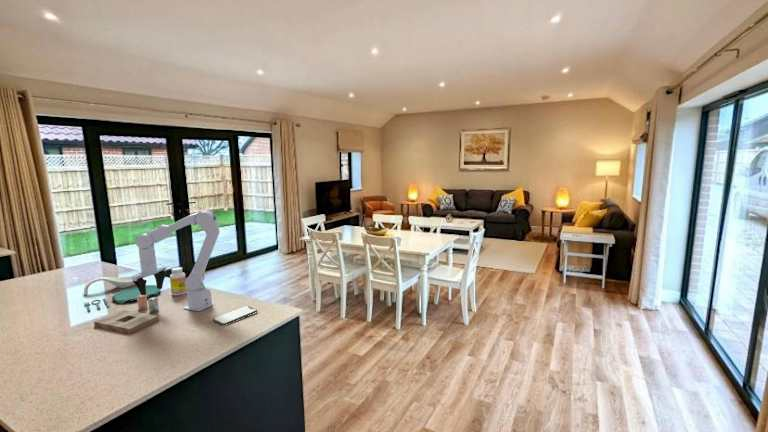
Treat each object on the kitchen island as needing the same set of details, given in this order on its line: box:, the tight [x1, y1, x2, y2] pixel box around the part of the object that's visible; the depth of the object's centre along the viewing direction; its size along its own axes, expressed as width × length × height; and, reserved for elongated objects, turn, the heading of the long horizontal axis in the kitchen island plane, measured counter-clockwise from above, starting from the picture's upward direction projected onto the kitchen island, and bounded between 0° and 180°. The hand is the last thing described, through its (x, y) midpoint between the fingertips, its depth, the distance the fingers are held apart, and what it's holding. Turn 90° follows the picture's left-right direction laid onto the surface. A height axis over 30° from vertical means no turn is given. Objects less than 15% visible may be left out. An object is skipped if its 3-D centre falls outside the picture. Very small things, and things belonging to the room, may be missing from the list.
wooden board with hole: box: [93, 309, 160, 335], centre depth 147 cm, size 20×12×2 cm, turn 71°
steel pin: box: [147, 296, 160, 314], centre depth 158 cm, size 4×4×6 cm
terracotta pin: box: [136, 295, 149, 311], centre depth 162 cm, size 4×4×6 cm
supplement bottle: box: [169, 266, 187, 297], centre depth 179 cm, size 7×7×13 cm
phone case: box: [212, 305, 258, 326], centre depth 153 cm, size 9×2×16 cm
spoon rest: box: [83, 276, 136, 296], centre depth 187 cm, size 24×12×7 cm, turn 133°
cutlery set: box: [84, 284, 162, 313], centre depth 174 cm, size 20×30×2 cm, turn 133°
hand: (151, 291), depth 157 cm, fingers open, 7 cm apart
